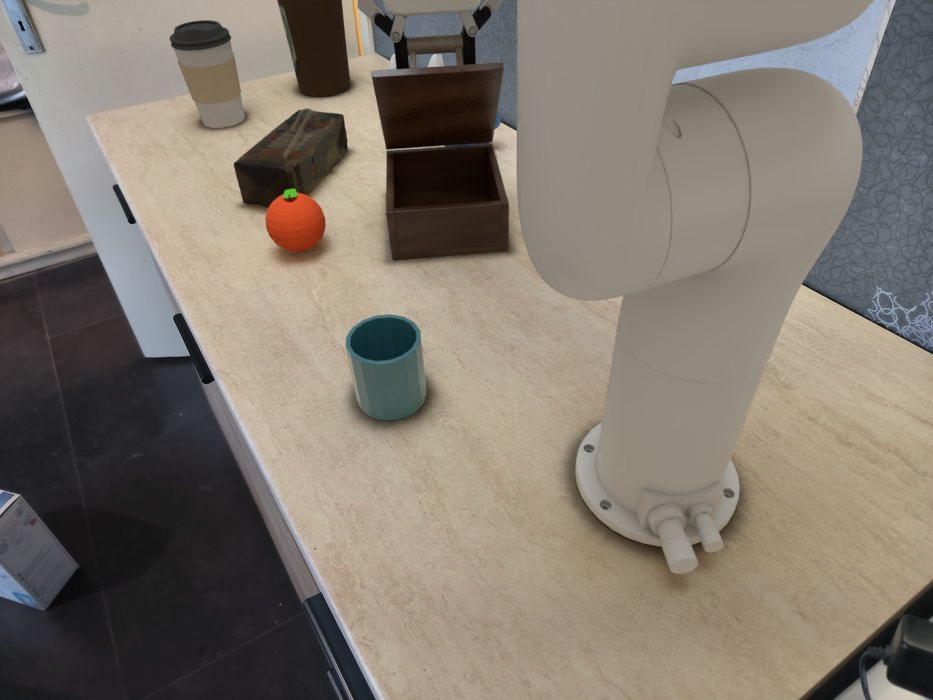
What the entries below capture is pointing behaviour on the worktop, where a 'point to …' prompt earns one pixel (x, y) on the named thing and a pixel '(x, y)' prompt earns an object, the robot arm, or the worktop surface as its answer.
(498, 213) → the brown wooden box
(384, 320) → the cup
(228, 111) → the coffee cup
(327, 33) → the olive oil
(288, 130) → the beverage carton
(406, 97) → the lid
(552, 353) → the worktop surface
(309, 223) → the clementine
